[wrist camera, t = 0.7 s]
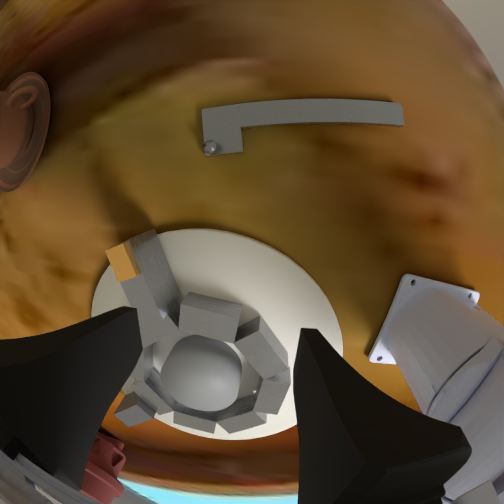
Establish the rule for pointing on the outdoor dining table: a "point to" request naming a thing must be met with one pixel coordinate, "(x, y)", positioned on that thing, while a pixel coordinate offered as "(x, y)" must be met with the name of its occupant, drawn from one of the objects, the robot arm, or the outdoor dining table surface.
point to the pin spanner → (289, 118)
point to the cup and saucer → (22, 128)
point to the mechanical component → (104, 469)
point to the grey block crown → (200, 323)
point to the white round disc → (254, 304)
